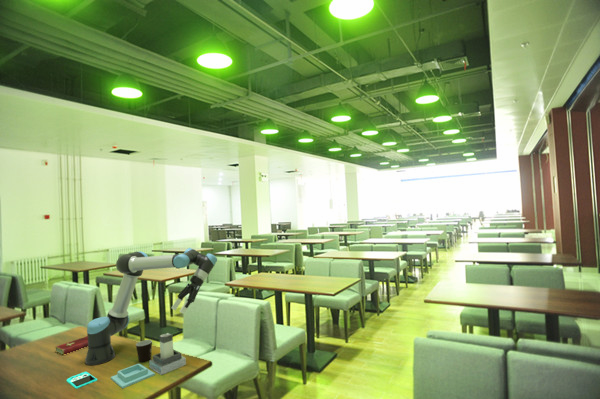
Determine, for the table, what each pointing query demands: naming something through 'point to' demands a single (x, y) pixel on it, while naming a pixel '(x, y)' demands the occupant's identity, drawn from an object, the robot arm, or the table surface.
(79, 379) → the handheld game console
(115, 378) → the lower socket plate
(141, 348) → the coffee mug
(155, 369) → the upper socket stand
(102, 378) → the table surface
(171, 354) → the plug block
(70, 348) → the hardcover book
